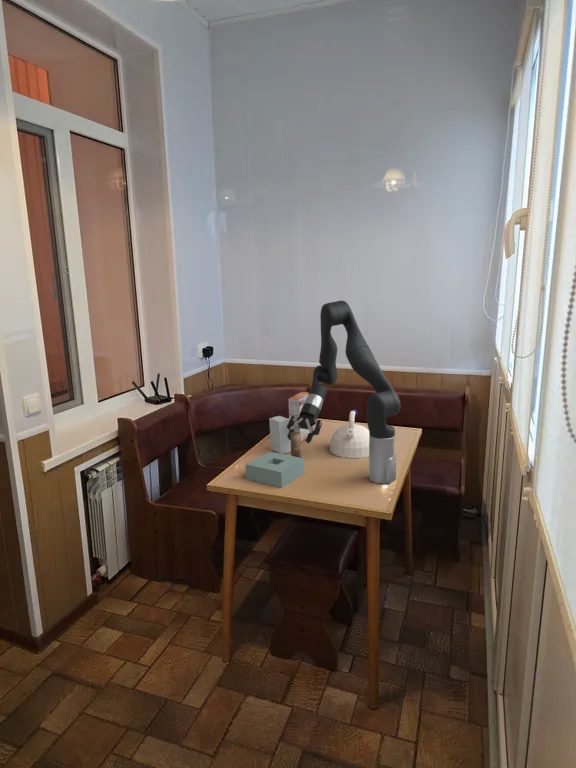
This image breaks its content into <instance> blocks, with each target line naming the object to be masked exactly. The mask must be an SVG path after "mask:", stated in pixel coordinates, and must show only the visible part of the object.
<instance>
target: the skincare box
mask: <svg viewBox="0 0 576 768" xmlns="http://www.w3.org/2000/svg"><path fill="white" fill-rule="evenodd" d="M268 422H269V433H270V434H269V435H270V449H271V451H272V452H274V453H279V454H284V455H285V454H288V453H291V440H289V439H288V437H287V435H288V433H289V431H290V430H289V429H288V428H287V425H288V423H289V417H288V418H287V417H285V416H281V415H278V416H277V415H276V416H273V417H269V421H268Z"/></svg>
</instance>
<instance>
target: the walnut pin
mask: <svg viewBox="0 0 576 768" xmlns="http://www.w3.org/2000/svg"><path fill="white" fill-rule="evenodd" d="M301 450H302V446H301V433H300V432H291V452H290V456H294V457H299V458H302V451H301Z"/></svg>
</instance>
